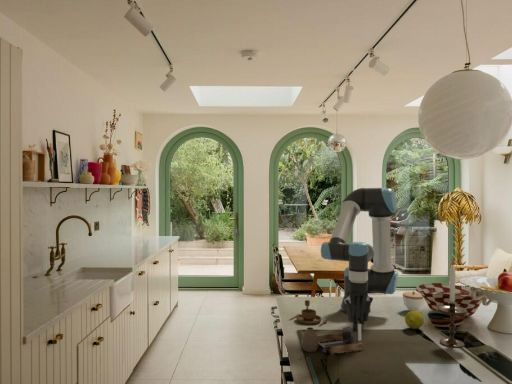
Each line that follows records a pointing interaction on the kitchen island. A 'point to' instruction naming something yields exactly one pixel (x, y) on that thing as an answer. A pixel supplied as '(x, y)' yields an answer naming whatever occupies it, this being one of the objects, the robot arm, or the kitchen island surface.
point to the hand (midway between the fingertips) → (357, 339)
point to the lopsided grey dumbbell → (348, 338)
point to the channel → (342, 347)
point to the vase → (310, 340)
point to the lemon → (414, 319)
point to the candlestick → (452, 313)
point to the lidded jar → (413, 300)
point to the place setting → (308, 316)
